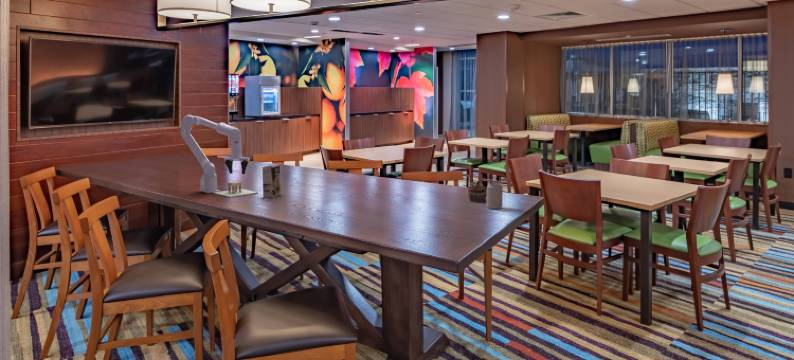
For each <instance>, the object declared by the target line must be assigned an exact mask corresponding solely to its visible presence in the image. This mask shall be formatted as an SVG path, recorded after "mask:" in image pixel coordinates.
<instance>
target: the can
mask: <svg viewBox="0 0 794 360" xmlns="http://www.w3.org/2000/svg"><path fill="white" fill-rule="evenodd" d="M503 189H504V187H503V185H502V183H500V182H489V183H488V184H487V186H486V191H487V196H486V201H485V203H486V204H485V205H486V207H487V208H488V209H489V210H499V209H500V210H501V208H502V207H503V193H504V192H503Z"/></svg>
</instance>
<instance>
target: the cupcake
mask: <svg viewBox="0 0 794 360" xmlns="http://www.w3.org/2000/svg"><path fill="white" fill-rule="evenodd" d="M467 192H468V198H469V202H471V203H486V201H487V187H486V186H485V185H483V183H481V181H480V180H478V181H476V182H475V181H471V182H470V185H469V186H468V190H467Z"/></svg>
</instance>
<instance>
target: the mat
mask: <svg viewBox="0 0 794 360" xmlns="http://www.w3.org/2000/svg"><path fill="white" fill-rule="evenodd" d="M213 194H215V195H218V196H221V197H222V196H223V197H227V198H230V199H231V198H237V196H238V197H243V196H244V195H245V196H249V195H250V196H251V195H257V194H259V192H258V191H257V192H256V191H253V190H249V189H245V188H241V193H239V188H237V192H235V194H232V189H231V193H229V192H228V190H223V191H222V190H220V191H219V192H213Z"/></svg>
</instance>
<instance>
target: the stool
mask: <svg viewBox="0 0 794 360" xmlns="http://www.w3.org/2000/svg"><path fill="white" fill-rule="evenodd" d="M226 185H227V186H228V188H227V189H228V190H227V191H228V192H229V193H231V190H232V194H235V192H237V189H239V193H241V189H242V185H243V184H242V182H241V181H237V180H235V181H229V182H228V181H227V184H226Z"/></svg>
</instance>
